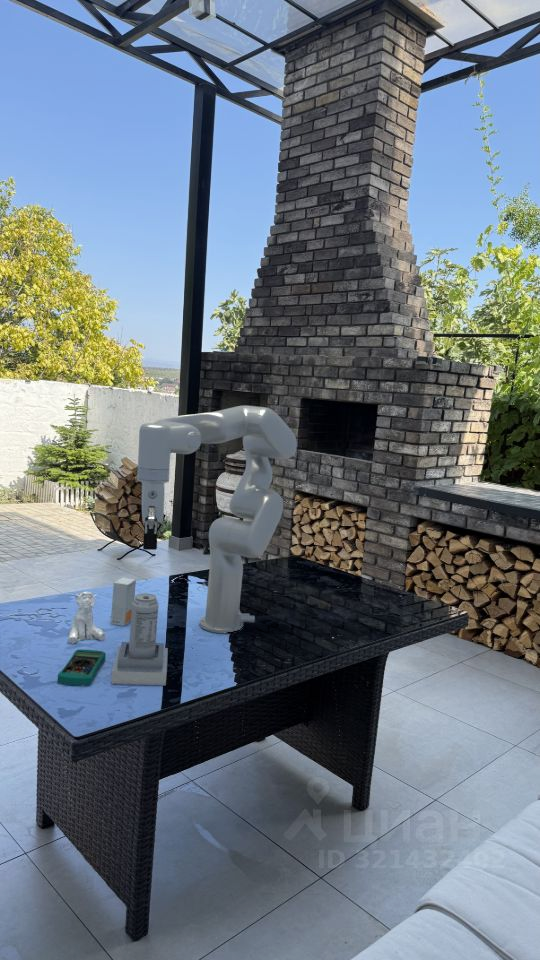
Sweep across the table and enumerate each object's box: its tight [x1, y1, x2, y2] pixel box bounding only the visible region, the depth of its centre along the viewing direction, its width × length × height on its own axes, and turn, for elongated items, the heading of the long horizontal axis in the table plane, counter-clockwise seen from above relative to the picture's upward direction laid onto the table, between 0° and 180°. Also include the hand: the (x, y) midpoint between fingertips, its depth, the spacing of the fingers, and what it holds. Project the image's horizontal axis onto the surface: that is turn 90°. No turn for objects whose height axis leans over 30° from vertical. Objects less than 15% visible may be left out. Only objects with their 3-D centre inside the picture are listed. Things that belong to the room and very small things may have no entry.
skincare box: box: [110, 577, 137, 627], centre depth 177 cm, size 6×4×12 cm
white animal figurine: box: [67, 590, 106, 645], centre depth 164 cm, size 10×9×12 cm
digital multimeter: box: [57, 648, 107, 687], centre depth 145 cm, size 7×15×3 cm, turn 1°
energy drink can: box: [128, 592, 160, 658], centre depth 146 cm, size 6×6×15 cm
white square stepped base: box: [110, 641, 169, 686], centre depth 147 cm, size 12×14×5 cm
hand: (150, 544), depth 155 cm, fingers open, 9 cm apart
